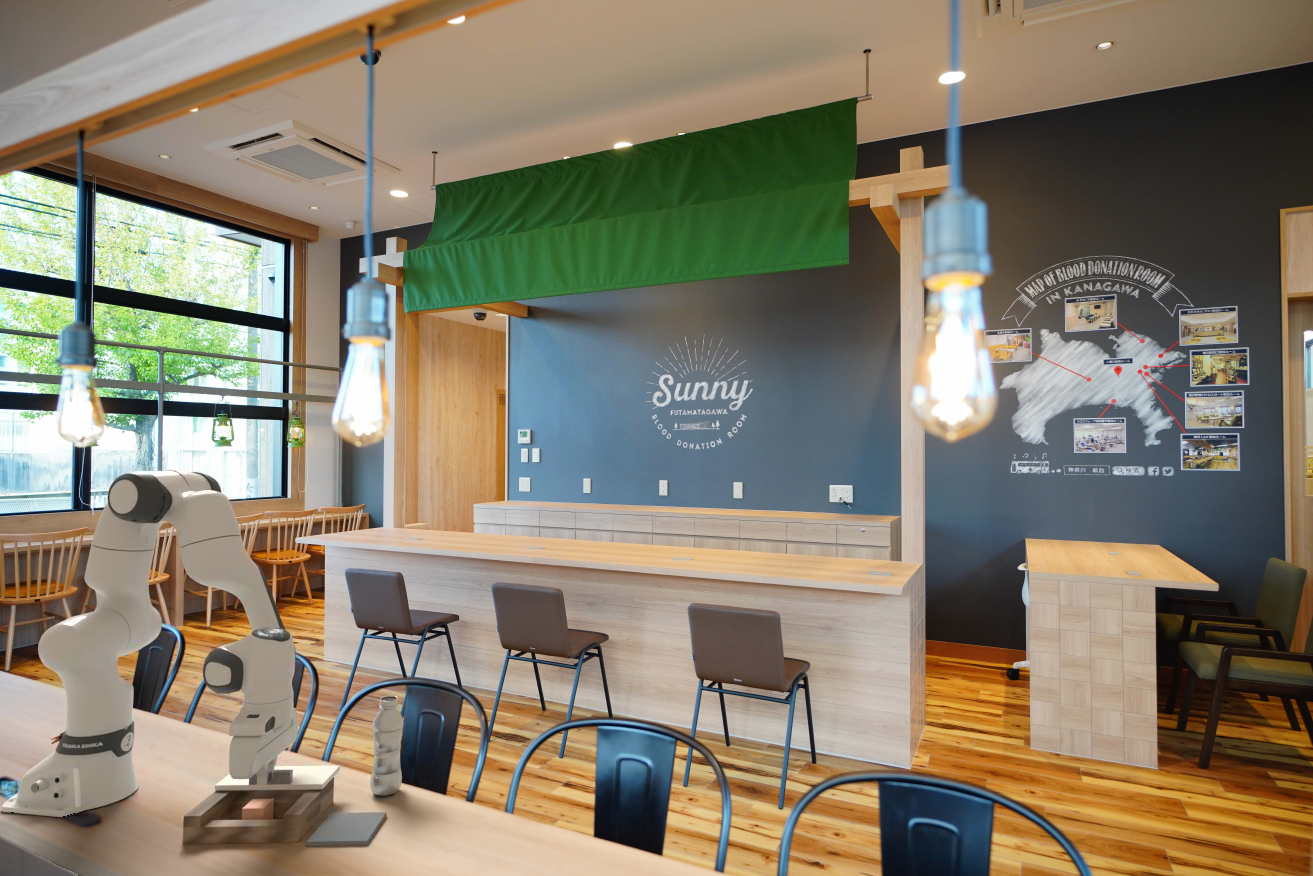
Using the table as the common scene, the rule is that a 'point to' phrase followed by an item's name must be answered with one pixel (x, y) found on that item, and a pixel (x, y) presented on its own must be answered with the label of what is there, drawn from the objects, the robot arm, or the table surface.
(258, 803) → the block
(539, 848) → the table surface
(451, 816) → the table surface
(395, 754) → the plastic bottle
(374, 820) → the coaster
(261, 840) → the wooden box
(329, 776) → the lid
